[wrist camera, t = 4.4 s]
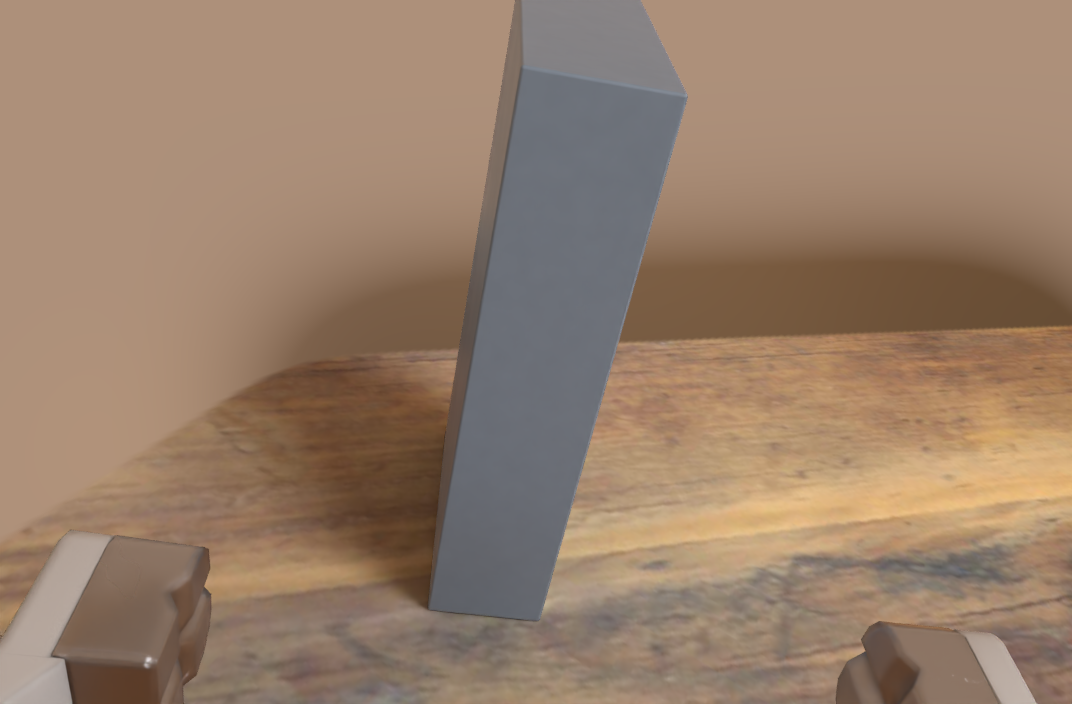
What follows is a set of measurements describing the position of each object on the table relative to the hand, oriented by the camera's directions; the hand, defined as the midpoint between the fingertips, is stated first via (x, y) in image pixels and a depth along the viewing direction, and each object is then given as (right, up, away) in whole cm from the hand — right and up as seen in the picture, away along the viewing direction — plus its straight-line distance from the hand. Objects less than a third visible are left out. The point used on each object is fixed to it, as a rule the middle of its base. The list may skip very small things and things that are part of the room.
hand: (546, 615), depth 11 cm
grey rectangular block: (-1, -1, +11) cm, 11 cm away
